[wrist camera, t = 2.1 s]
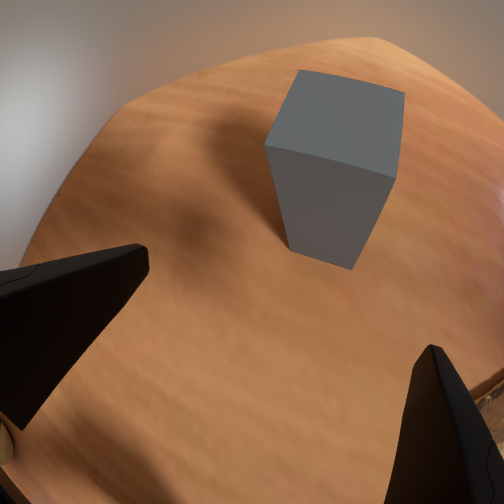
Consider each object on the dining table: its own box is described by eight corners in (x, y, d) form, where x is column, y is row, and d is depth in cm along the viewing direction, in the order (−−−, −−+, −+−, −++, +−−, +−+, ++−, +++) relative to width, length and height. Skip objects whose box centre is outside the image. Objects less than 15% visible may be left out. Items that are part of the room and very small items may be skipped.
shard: (419, 429, 16) (427, 435, 15) (462, 344, 18) (473, 343, 16) (495, 456, 13) (504, 461, 11) (531, 382, 14) (541, 383, 13)
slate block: (351, 270, 21) (396, 178, 9) (290, 250, 22) (263, 144, 10) (366, 213, 22) (404, 92, 10) (309, 196, 24) (299, 69, 11)
